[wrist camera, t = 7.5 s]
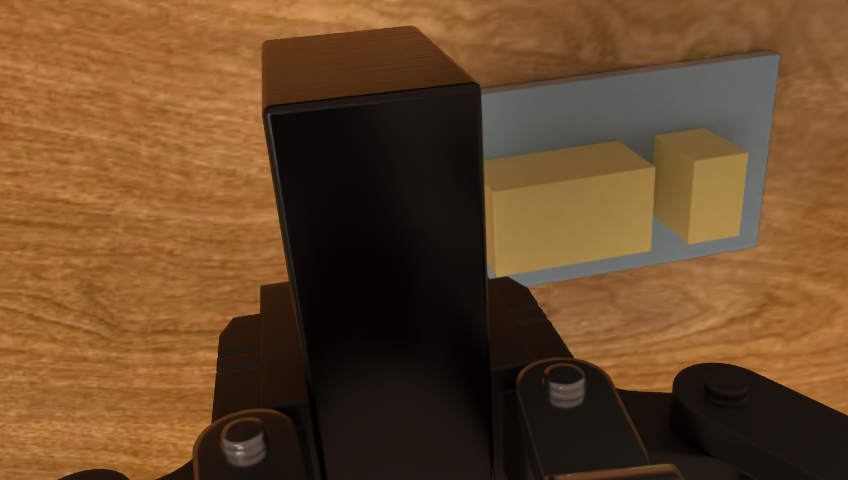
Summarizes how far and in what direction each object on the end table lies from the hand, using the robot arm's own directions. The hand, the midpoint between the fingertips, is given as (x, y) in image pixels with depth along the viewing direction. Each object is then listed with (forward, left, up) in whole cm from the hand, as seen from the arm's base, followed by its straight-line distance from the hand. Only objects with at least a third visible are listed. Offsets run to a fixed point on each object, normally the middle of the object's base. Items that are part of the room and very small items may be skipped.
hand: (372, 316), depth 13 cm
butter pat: (+4, +13, -13) cm, 19 cm away
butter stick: (+4, +8, -13) cm, 16 cm away
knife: (+5, 0, 0) cm, 5 cm away
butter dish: (+4, +11, -14) cm, 18 cm away
